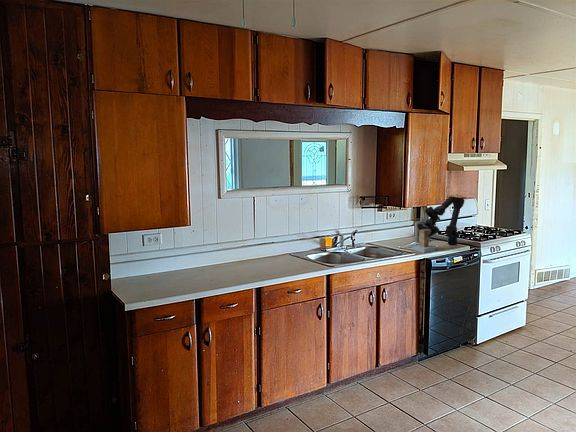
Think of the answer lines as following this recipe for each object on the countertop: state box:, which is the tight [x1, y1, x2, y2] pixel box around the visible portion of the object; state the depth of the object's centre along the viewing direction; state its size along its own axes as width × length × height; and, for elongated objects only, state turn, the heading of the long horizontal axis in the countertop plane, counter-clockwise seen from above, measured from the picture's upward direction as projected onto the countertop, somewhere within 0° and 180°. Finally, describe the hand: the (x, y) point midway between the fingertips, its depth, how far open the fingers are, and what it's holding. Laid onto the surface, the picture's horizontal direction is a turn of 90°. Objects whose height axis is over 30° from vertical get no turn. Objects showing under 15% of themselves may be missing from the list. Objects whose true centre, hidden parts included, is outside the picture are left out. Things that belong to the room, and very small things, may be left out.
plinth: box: [412, 244, 436, 253], centre depth 367 cm, size 12×12×3 cm
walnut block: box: [418, 229, 430, 247], centre depth 365 cm, size 5×5×13 cm
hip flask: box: [414, 217, 431, 244], centre depth 399 cm, size 16×4×20 cm, turn 116°
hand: (422, 236), depth 364 cm, fingers open, 9 cm apart
